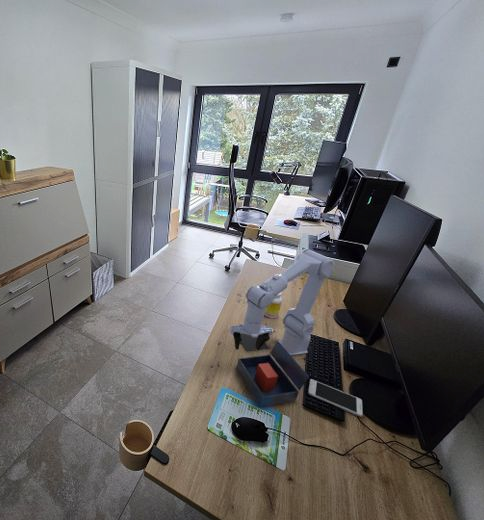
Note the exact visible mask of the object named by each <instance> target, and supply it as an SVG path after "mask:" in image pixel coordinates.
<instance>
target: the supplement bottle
mask: <svg viewBox="0 0 484 520" xmlns="http://www.w3.org/2000/svg"><path fill="white" fill-rule="evenodd" d="M282 294H283V293H282V292H280V293H279V294H278V295H276V296H275V299H274V300H273V301H272V302H271V304H270V305H269V306H268V307H266V310H265V314H264V316H265V317H267V318H270V319H275V318H278V317H279V313H280V311H281V306H282V302H283V297H282Z"/></svg>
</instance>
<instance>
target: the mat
mask: <svg viewBox="0 0 484 520" xmlns="http://www.w3.org/2000/svg"><path fill="white" fill-rule="evenodd" d="M240 334H241V338H242V340H241V342H240V345H242V347H243V348H244V349H245V351H246V352H250V351H258V350H257V348H256V346H255V345H256V340H257V338H254V337H252V336H251V335H247V334H243V333H240ZM266 349H269V346H268V345H267V344H266V342H265V343H264V344H263V345H262V347H261V348H260V349H259V350H266Z"/></svg>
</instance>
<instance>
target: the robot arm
mask: <svg viewBox="0 0 484 520" xmlns="http://www.w3.org/2000/svg"><path fill="white" fill-rule="evenodd" d="M335 264H336V263H335V261H334V259H333V258H331V257H328V256H325V255H324V254H321V253H318V252H316V251H314V250H312V249H310V248H304V249H303V250H301V251H300V252H299V253H298V254H297V256H296V260H295V262H293V263H292V264H291V265H290V266H289V267H287V268H286V269H285V270H284V271H282V273H280V274H278V273H276V274H273V275H272V276H271V277H269V278H268V279H266V280H265V281H263V282H262V283H260V284H259V285H252V286H251V287H249V288H248V290H247V292H246V293H245V298H246V304H247V306H246V311H245V314H244V315H245V316H244V320H243V323H240V324H237V325H230V326H229V329H228V330H229V333H230V335H232V336H233V339H234V340H233V341H234V348H235V350H236V351H237V350H239V349H240V345H241V343H240V342H241V340H242V338H241V334H242V333H243V334H247V335H251V336H252V337H254V338H257V340H256V345H255V346H256V348H257V350H256V351H260V350H261V349H260V348H261V347H262V345H263V344H264V343H265V344H266V343H267V342H268V341H270V339H271V336H272V335H273V332H274V329H273V328H272V326H267V325H262V324H263V322H264V321H263V320H264V318H265V315H264V314H265V310H266V307H268V306H269V305H270V304H271V302H272V301H273V300H274V299H275V296H276V295H278V294H279V293H280V292H281V293H282V292H283V291H285V290H286V289H287V288H288V284H289V283H290V282H292V281H294V280H295V279H297V278H298V277H300V276H302V275H303V274H306V273H307V274H308V276H307V279H306V282H305V284H304V286H303V288H302V291H301V293H300V295H299V298H298V300H297V303H296V305H295V307H292V308H288V309H287V311H286V313H285V315H284V316H283V317H282V324H283V328H284V331H283V334H282V338H281V340H276V341H275V343H276V342H277V341H279V342H280V344H281V345H282V346H283V347H284V348H285V349H286V350H287V352H288V353H289V354H290V355H291V356H297V355H303V354H308V353H309V352H308V348H309V345H310V343H311V334H312V333H313V331H314V327H315V322H316V321H315V319H314V318H313V315H312V314H311V311H312V309H313V307H314V304H315V302H316V300H317V297H318V295H319V293H320V291H321V288H322V286H323V284H324V281H325V280H326V279H329V278H330V276H331V274H332V272H333V269H334V267H335Z"/></svg>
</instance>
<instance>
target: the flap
mask: <svg viewBox="0 0 484 520" xmlns="http://www.w3.org/2000/svg"><path fill="white" fill-rule="evenodd" d="M276 341H277V342H276ZM276 341H275V343H274V346H273V347H272V349H271V350H270V352H269V354H270V355H271V357H272V358H273V359H274V361H275V362H276V363H277V364H278V366H279V367H280V368H281V370H282V371H283V372H284V373H285V375H286V376H287V377H288V379H289V380H290V381H291V382H292V384H293V385H294V386H295V388H296V389H297V390H298V391H301V389H302V388H303V387H304V385H305V384H306V382H307V381H308V380H309V378H310V375H308V373H306V371H305V370H304V368H303V367H301V365H300V364H299V363H298V362H297V361H296V359H295V358H294V357H293V355H290V354H289V353H288V352H287V350H286V349H285V348H284V347H283V346H282V345H281V344H280V342H279V341H280V340H276Z"/></svg>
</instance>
